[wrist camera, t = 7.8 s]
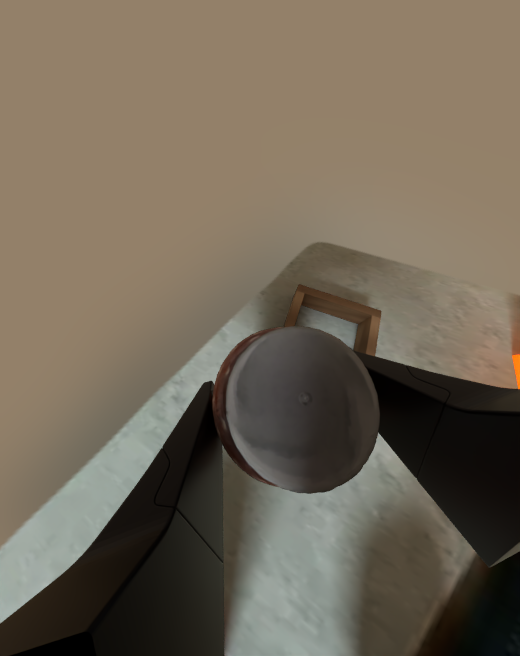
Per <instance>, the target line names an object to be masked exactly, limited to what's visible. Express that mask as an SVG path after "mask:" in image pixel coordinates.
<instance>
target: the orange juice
mask: <svg viewBox="0 0 520 656" xmlns="http://www.w3.org/2000/svg"><path fill="white" fill-rule="evenodd" d="M512 357H513V362H514V367H515V373H516V378H517V383H518V389H520V355H512Z"/></svg>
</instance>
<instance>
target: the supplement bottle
mask: <svg viewBox="0 0 520 656" xmlns="http://www.w3.org/2000/svg"><path fill="white" fill-rule="evenodd" d="M212 407H213V417H214V422H215V427H216V430H217V432H218V436H219V438H220V440H221V442H222V444H223V446H224V448H225V450H226V451H227V453H228V454H229V456H230V457H231V459H232V460H233V461H234V462H235V463H236V464H237V465H238V466H239V467H240V468H241V469H242V470H243V471H245V472H246V473H247V474H249V475H250V476H251V477H253V478H255V479H257V480H258V481H261V482H263V483H266V484H269V485H272V486H276V487H280V488H282V489H286V490H289V491H293V492H297V493H308V494H310V493H317V492H327V491H331V490H332V489H334V488H336V487H337V486H340V485H342V484H344V483H346V482H347V481H349V480H350V479H352V478H353V477H354V476H356V475H357V474H358V473H359V472H360V470H361V469H362V467H363V465H364V464H365V463H366V462H367V460H368V458H369V456H370V454H371V453H372V451H373V449H374V446H375V443H376V439H377V436H378V430H379V422H380V410H379V403H378V395H377V392H376V390H375V387H374V383H373V381H372V378H371V376H370V375H369V373H368V370H367V369H366V367H365V366H364V364H363V362H362V361H361V360H360V358H359V357H358V356H357V355H356V354H355V353H354V352H353V350H352V349H351V348H349V347H348V346H347V345H346V344H345V343H343V342H342V341H341V340H340V339H338V338H336V337H335V336H333V335H331V334H328V333H326V332H324V331H321V330H319V329H314V328H310V327H304V326H290V327H276V328H272V329H267V330H262V331H259V332H257V333H255V334H252V335H250V336H249V337H247V338H245V339H244V340H242V341H241V342H240V343H238V344H237V346H235V348H234V349H232V351H231V352H230V353H229V355H228V356H227V358H226V359H225V360H224V362H223V364H222V365H221V368H220V370H219V372H218V374H217V378H216V381H215V385H214V390H213V398H212Z"/></svg>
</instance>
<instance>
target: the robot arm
mask: <svg viewBox="0 0 520 656" xmlns="http://www.w3.org/2000/svg"><path fill="white" fill-rule="evenodd" d="M353 352H354V353H355V354H356V355H357V356H358V357H359V358H360V360H361V361H362V362H363V364H364V366H365V367H366V369H367V370H368V373H369V375H370V376H371V378H372V381H373V383H374V387H375V390H376V392H377V395H378V403H379V410H380V422H379V430H378V432H379V434H380V435H381V436H382V437H383V439H384V440H385V441H386V442H387V444H388V445H389V446H390V447H391V448H392V450H393V451H394V452H395V453H396V455H397V456H398V457H399V458H400V459H401V461H402V462H403V463H404V464H405V466H406V467H407V468H408V469H409V470H410V472H411V473H412V474H413V475H414V477H415V478H417V480H418V482H419V483H420V484H421V485H422V487H423V488H424V489H425V490H426V491H427V493H428V494H429V495H430V496H431V498H432V499H433V500H434V501H435V502H436V504H437V505H438V506H439V507H440V509H441V510H442V511H443V512H444V514H445V515H446V516H447V517H448V518H449V520H450V521H451V522H452V523H453V525H454V526H455V527H456V528H457V529H458V531H459V532H460V533H461V534H462V536H463V537H464V538H465V539H466V540H467V542H468V543H469V544H470V545H471V547H472V548H473V549H474V550H475V551H476V553H477V554H478V555H479V556H480V558H481V559H482V560H483V561H484V562H485V563H486V564H487V565H488V566H489V567H491V566H493V565H495V564H497V563H499V562H501V561H502V560H504V559H506V558H508V557H510V556H512V555H513V554H515V553H517V552H519V551H520V389H509V388H500V387H495V386H490V385H485V384H481V383H477V382H472V381H468V380H464V379H459V378H455V377H450V376H446V375H442V374H438V373H433V372H429V371H426V370H422V369H418V368H415V367H411V366H408V365H406V366H405V365H404V364H400V363H397V362H393V361H390V360H386V359H383V358H379V357H375V356H372V355H368V354H365V353H361V352H358V351H354V350H353ZM213 390H214V383H213V382H212V381H208V382H205V383H203V385H202V386H201V388H200V389H199V391H198V392H197V394H196V396H195V397H194V399H193V400H192V402H191V403H190V405H189V406H188V408H187V409H186V411H185V413H184V414H183V416H182V417H181V419H180V420H179V422H178V423H177V425H176V426H175V428H174V430H173V431H172V433H171V434H170V436H169V437H168V439H167V440H166V442H165V443H164V445H163V448H161V450H160V451H159V453H158V454H157V456H156V457H155V459H154V460H153V462H152V463H151V465H150V466H149V468H148V469H147V471H146V472H145V474H144V475H143V476H142V478H141V479H140V480H139V482H138V483H137V485H136V486H135V487H134V489H133V490H132V491H131V493H130V494H129V495H128V497H127V498H126V499H125V501H124V502H123V503H122V505H121V506H120V507H119V509H118V510H117V511H116V513H115V514H114V515H113V517H112V518H111V519H110V521H109V522H108V523H107V525H106V526H105V527H104V529H103V530H102V531H101V533H100V534H99V535H98V537H97V538H96V539H95V541H94V542H93V543H92V544H91V546H90V547H89V548H88V549H87V550H86V551H85V552H84V554H83V555H82V556H81V557H80V558H79V559H78V560H77V561H76V562H75V563H74V564H73V565H72V566H71V567H70V568H69V569H67V570H66V571H65V572H64V573H63V574H62V575H60V576H59V577H58V578H57V579H56V580H54V581H53V582H52V583H51V584H49V585H48V586H47V587H46V588H44V589H43V590H42V591H41V592H39V593H38V594H37V595H36V596H34V597H33V598H32V599H31V600H29V601H28V602H27V603H25V604H24V605H23V606H22V607H20V608H19V609H18V610H17V611H15V612H14V613H13V614H12V615H10V616H9V617H8V618H7V619H5V620H4V621H3V622H2V623H0V656H224V567H223V468H222V442H221V440H220V438H219V436H218V432H217V430H216V427H215V422H214V417H213V407H212V398H213Z"/></svg>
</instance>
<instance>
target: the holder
mask: <svg viewBox="0 0 520 656" xmlns="http://www.w3.org/2000/svg"><path fill="white" fill-rule="evenodd" d="M301 305H302V306H305V307H308V308H311V309H314V310H317V311H320V312H323V313H326V314H329V315H332V316H335V317H338V318H341V319H344V320H347V321H350V322H353V323H356V324H358V329H357V335H356V340H355V345H354V351H358V352H361V353H365V354H368V355H372V356H375V353H376V346H377V339H378V332H379V325H380V318H381V311H380V310H377V309H374V308H371V307H368V306H365V305H361V304H358V303H355V302H352V301H349V300H346V299H343V298H340V297H337V296H334V295H331V294H328V293H325V292H321V291H318V290H315V289H312V288H309V287H306V286H303V285H300V284H299V285H298V288H297V290H296V292H295V295H294V297H293V300H292V303H291V306H290V309H289V312H288V315H287V318H286V321H285V324H284V327H290V326H295V323H296V320H297V316H298V313H299V310H300V307H301Z"/></svg>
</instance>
